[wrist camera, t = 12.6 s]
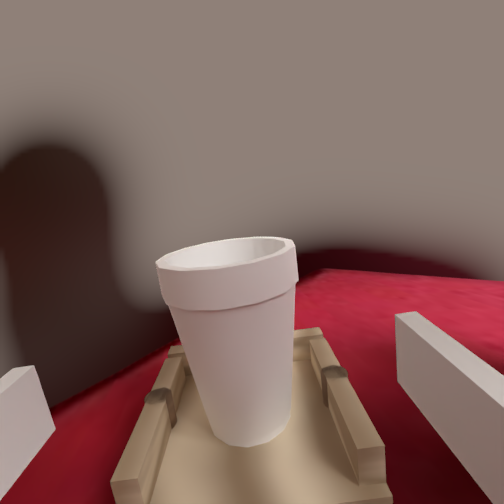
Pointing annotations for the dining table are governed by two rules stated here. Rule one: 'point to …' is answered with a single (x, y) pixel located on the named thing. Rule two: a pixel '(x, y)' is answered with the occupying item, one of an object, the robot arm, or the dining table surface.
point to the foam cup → (236, 331)
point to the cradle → (260, 456)
